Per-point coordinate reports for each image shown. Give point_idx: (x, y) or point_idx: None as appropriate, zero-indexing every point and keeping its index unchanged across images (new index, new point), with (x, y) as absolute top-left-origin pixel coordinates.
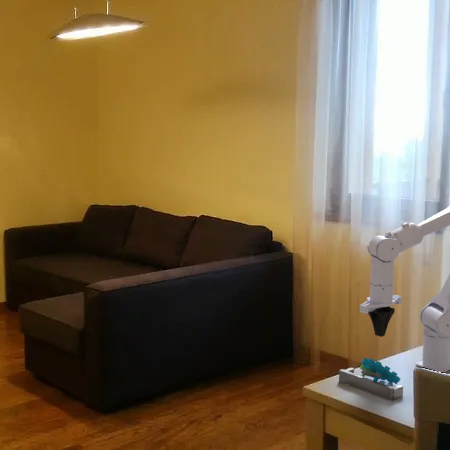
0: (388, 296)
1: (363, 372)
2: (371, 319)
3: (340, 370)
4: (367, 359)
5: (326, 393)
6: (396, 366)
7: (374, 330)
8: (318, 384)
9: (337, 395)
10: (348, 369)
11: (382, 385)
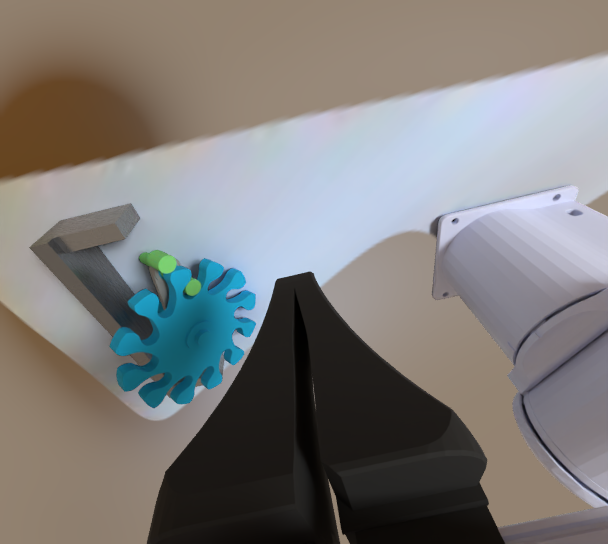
0: None
1: (153, 277)
2: (236, 381)
3: (35, 252)
4: (131, 353)
5: None
6: (378, 190)
7: (272, 299)
8: None
9: (22, 305)
10: (93, 235)
11: (155, 380)
